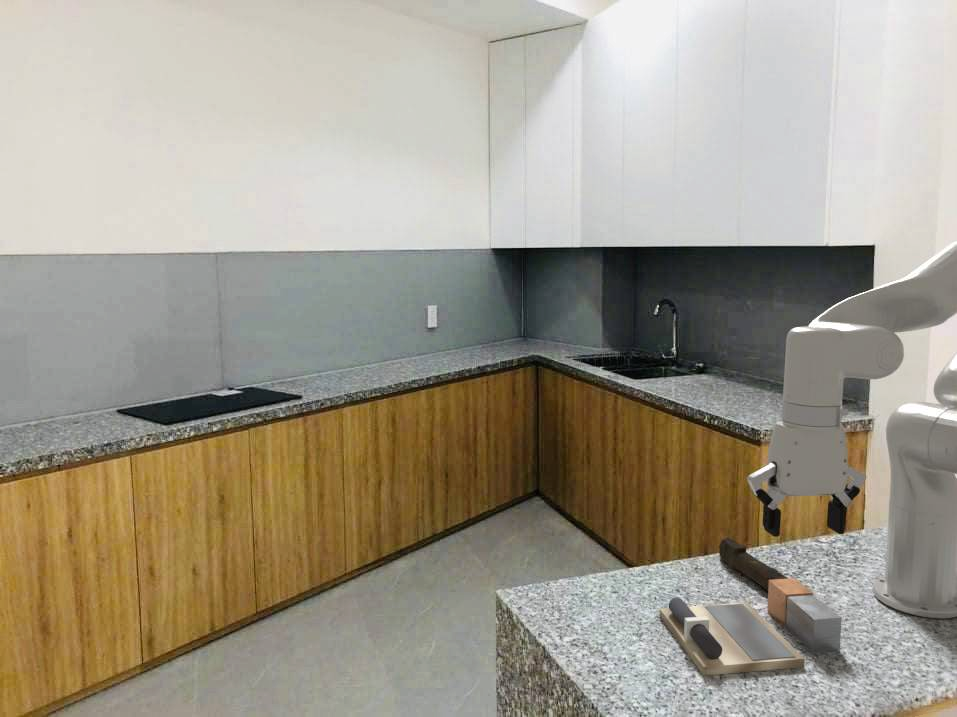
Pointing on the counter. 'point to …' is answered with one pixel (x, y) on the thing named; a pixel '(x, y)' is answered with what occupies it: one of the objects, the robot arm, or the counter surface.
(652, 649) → the counter surface
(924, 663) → the counter surface
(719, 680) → the counter surface
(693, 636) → the rod
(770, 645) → the board
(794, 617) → the grey and copper block
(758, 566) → the hand tool
